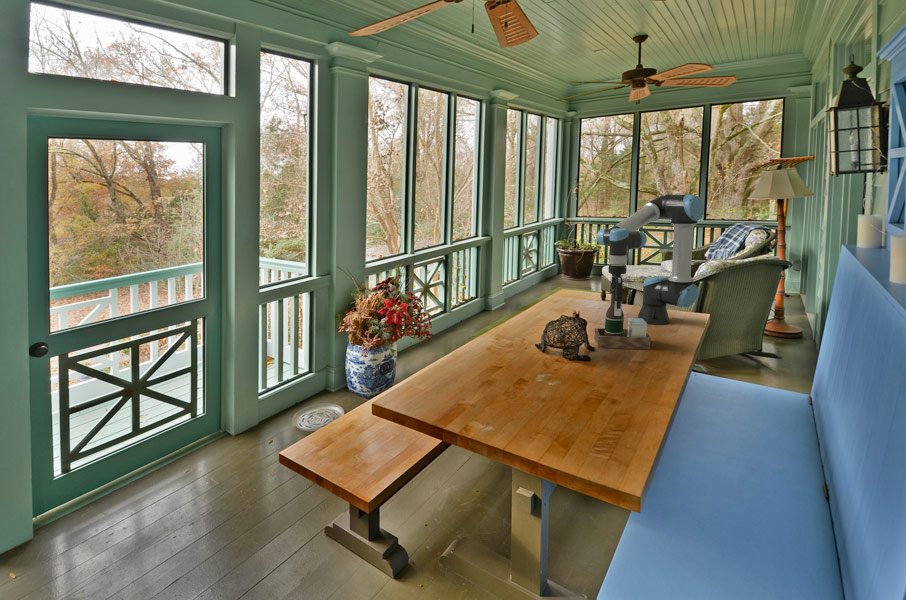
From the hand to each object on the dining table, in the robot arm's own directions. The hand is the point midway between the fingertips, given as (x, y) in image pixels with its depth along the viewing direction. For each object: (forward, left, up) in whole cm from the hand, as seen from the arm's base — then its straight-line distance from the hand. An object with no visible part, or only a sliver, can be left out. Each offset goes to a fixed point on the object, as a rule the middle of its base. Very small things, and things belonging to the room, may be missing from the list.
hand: (615, 311), depth 243 cm
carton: (-7, +7, -14) cm, 17 cm away
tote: (-2, +2, -15) cm, 15 cm away
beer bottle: (0, 0, -14) cm, 14 cm away
